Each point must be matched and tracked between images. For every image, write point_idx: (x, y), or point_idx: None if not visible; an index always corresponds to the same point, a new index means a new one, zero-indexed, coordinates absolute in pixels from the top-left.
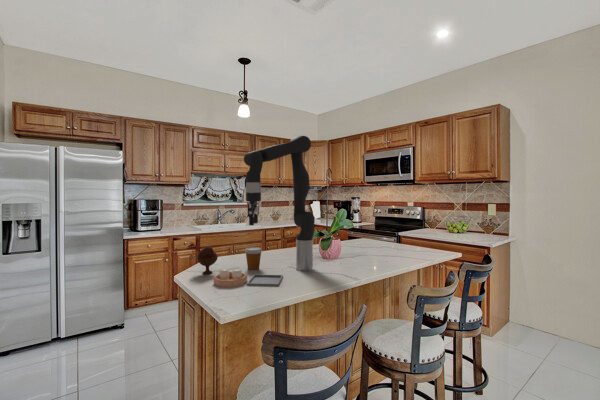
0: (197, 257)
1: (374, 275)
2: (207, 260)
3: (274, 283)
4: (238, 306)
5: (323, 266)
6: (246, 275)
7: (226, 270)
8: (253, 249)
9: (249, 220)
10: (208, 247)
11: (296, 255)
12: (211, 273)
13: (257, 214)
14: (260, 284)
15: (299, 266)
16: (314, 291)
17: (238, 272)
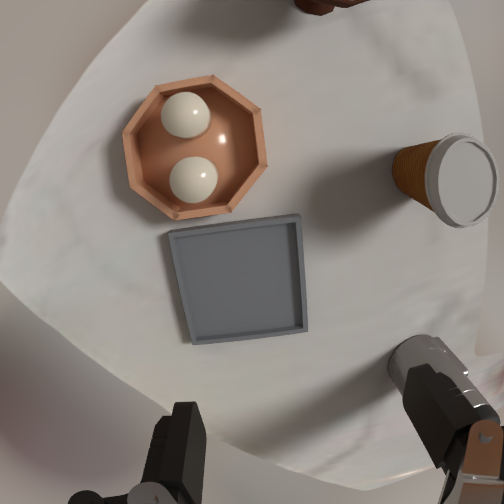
0: None
1: (346, 486)
2: None
3: (219, 322)
4: (27, 275)
5: None
6: (220, 213)
7: (180, 128)
8: (464, 183)
9: (167, 448)
10: None
11: (436, 367)
12: (312, 13)
13: (442, 488)
14: (179, 285)
15: (400, 361)
16: None
17: (176, 195)
